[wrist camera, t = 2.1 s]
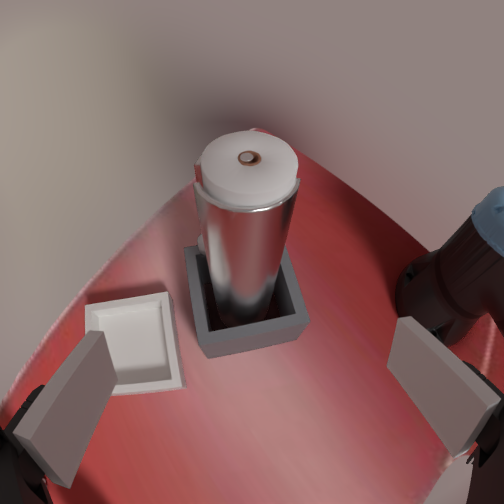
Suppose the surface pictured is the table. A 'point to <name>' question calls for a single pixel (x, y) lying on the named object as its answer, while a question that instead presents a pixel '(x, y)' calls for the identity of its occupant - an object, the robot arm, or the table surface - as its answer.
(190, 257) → the housing
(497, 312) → the robot arm
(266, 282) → the shiny metal cylinder
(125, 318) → the tray
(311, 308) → the table surface
